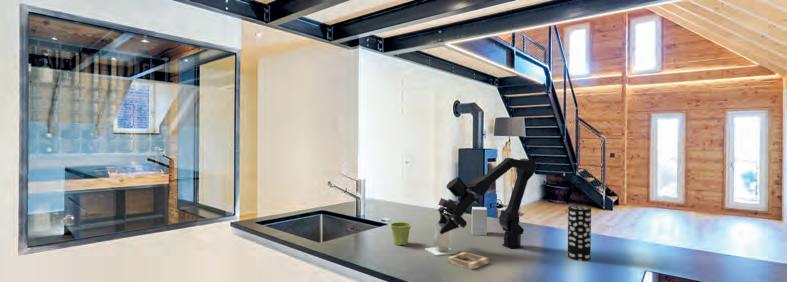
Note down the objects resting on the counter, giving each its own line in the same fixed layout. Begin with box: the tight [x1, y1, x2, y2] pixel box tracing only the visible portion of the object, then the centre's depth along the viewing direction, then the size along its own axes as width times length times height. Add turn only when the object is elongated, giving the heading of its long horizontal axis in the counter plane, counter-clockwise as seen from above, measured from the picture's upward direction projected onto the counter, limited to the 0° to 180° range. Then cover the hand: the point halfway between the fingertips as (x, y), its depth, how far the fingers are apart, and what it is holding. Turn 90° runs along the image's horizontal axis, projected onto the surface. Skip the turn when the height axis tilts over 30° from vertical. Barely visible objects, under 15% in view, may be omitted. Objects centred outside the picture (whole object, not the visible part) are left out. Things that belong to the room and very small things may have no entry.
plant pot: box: [389, 221, 412, 246], centre depth 178 cm, size 9×9×9 cm
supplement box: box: [471, 206, 488, 236], centre depth 198 cm, size 7×7×13 cm
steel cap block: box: [433, 223, 450, 251], centre depth 166 cm, size 4×5×10 cm
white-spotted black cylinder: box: [567, 205, 592, 262], centre depth 159 cm, size 8×8×20 cm
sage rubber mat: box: [424, 246, 459, 257], centre depth 167 cm, size 10×10×1 cm
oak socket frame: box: [447, 251, 489, 271], centre depth 152 cm, size 11×11×2 cm
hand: (438, 231), depth 166 cm, fingers closed on steel cap block, 5 cm apart
